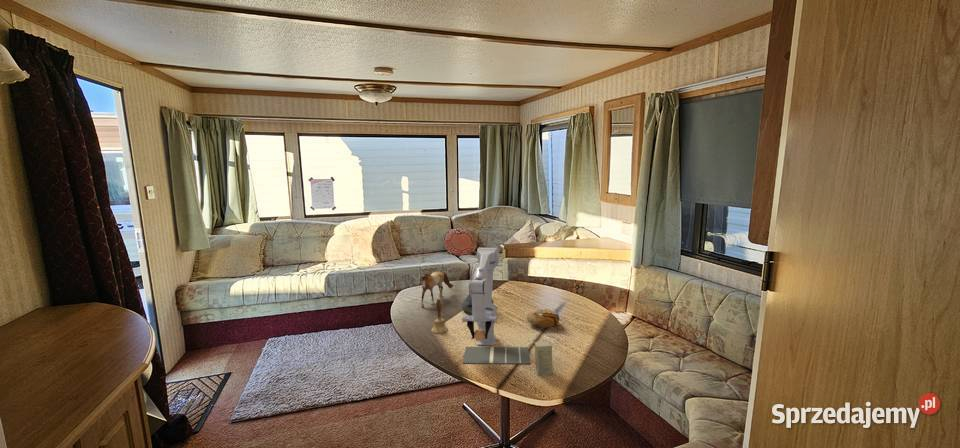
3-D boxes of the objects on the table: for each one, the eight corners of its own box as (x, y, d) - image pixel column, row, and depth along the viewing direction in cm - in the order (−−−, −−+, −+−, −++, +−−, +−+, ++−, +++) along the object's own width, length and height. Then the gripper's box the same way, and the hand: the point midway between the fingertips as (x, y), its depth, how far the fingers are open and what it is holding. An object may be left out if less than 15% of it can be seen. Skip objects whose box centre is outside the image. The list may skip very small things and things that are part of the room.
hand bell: (429, 328, 197) (428, 298, 194) (445, 325, 200) (444, 295, 197) (433, 335, 189) (432, 303, 187) (450, 331, 192) (448, 301, 190)
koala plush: (493, 316, 210) (493, 281, 207) (460, 316, 211) (459, 281, 207) (493, 304, 227) (492, 271, 224) (462, 304, 228) (461, 272, 224)
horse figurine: (425, 311, 219) (423, 276, 216) (414, 309, 223) (412, 274, 219) (454, 293, 246) (453, 262, 243) (444, 292, 250) (442, 261, 247)
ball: (474, 337, 169) (474, 326, 168) (486, 337, 168) (485, 327, 168) (473, 343, 164) (473, 332, 163) (485, 343, 163) (485, 332, 163)
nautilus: (573, 331, 189) (550, 341, 182) (543, 315, 207) (521, 323, 199) (574, 317, 188) (550, 326, 180) (543, 301, 205) (521, 309, 197)
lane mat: (465, 347, 176) (465, 346, 176) (528, 347, 174) (528, 346, 174) (462, 363, 162) (462, 362, 162) (530, 364, 160) (530, 363, 160)
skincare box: (550, 369, 156) (550, 340, 154) (552, 375, 152) (552, 345, 150) (534, 369, 156) (534, 341, 154) (536, 375, 151) (536, 346, 149)
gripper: (460, 311, 160) (461, 341, 163) (495, 311, 159) (496, 342, 161) (462, 304, 167) (463, 334, 170) (496, 304, 166) (497, 334, 168)
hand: (479, 337), depth 166 cm, fingers closed on ball, 5 cm apart
